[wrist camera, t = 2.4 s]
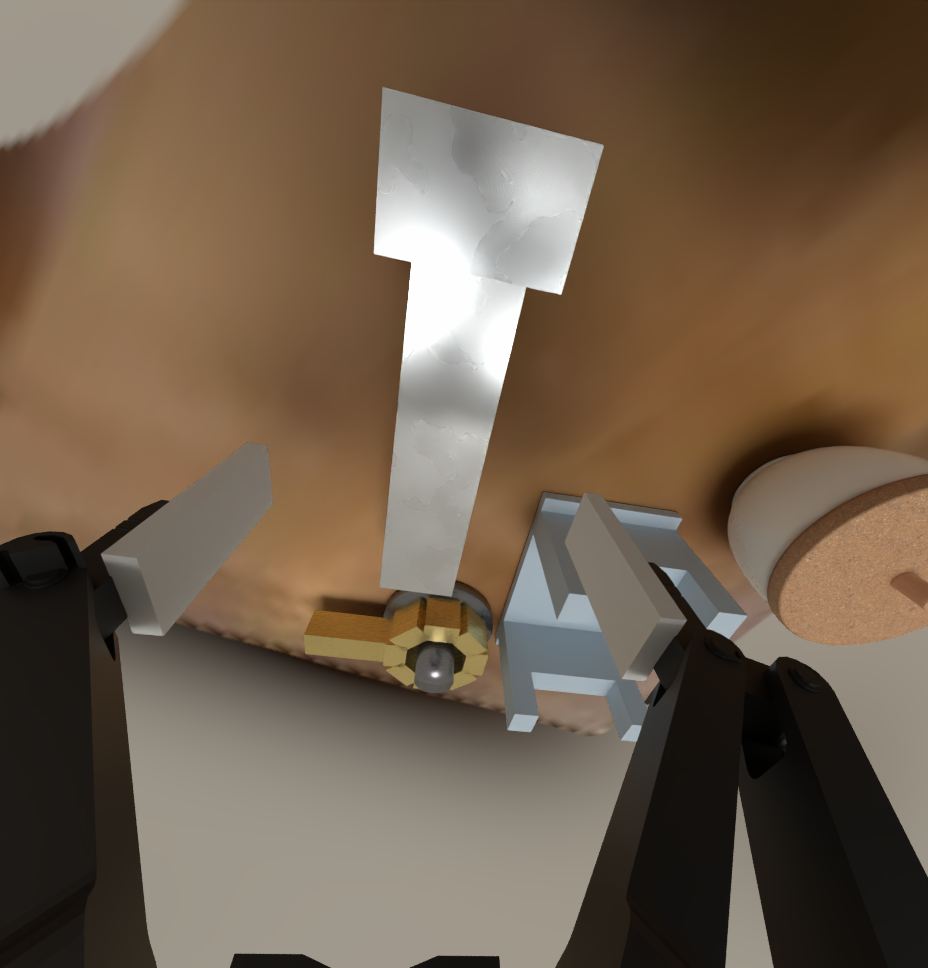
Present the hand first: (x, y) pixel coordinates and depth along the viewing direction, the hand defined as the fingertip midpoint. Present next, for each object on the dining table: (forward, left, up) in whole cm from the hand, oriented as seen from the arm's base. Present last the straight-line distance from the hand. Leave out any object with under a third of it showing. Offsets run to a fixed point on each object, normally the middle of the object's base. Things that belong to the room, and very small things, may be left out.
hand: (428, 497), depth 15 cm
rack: (+11, +12, -8) cm, 18 cm away
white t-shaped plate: (-2, 0, -8) cm, 8 cm away
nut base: (+17, +2, -8) cm, 18 cm away
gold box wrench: (+17, -1, -6) cm, 18 cm away
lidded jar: (+1, +23, -8) cm, 25 cm away
